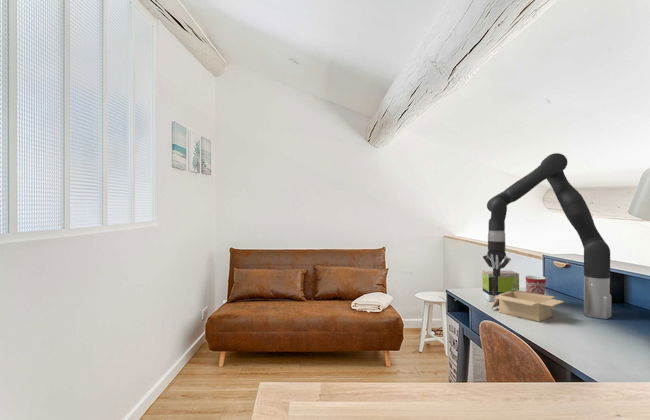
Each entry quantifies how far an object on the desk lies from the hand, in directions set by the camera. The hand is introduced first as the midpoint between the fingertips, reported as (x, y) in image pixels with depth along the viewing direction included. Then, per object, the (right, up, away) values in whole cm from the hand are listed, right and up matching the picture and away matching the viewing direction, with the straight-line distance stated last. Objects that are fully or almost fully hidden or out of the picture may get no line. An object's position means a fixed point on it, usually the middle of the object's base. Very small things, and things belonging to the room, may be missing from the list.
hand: (496, 276), depth 176 cm
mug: (+23, -15, +8) cm, 28 cm away
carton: (+9, -15, -12) cm, 22 cm away
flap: (+3, -7, -3) cm, 8 cm away
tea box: (+9, -15, +16) cm, 24 cm away
